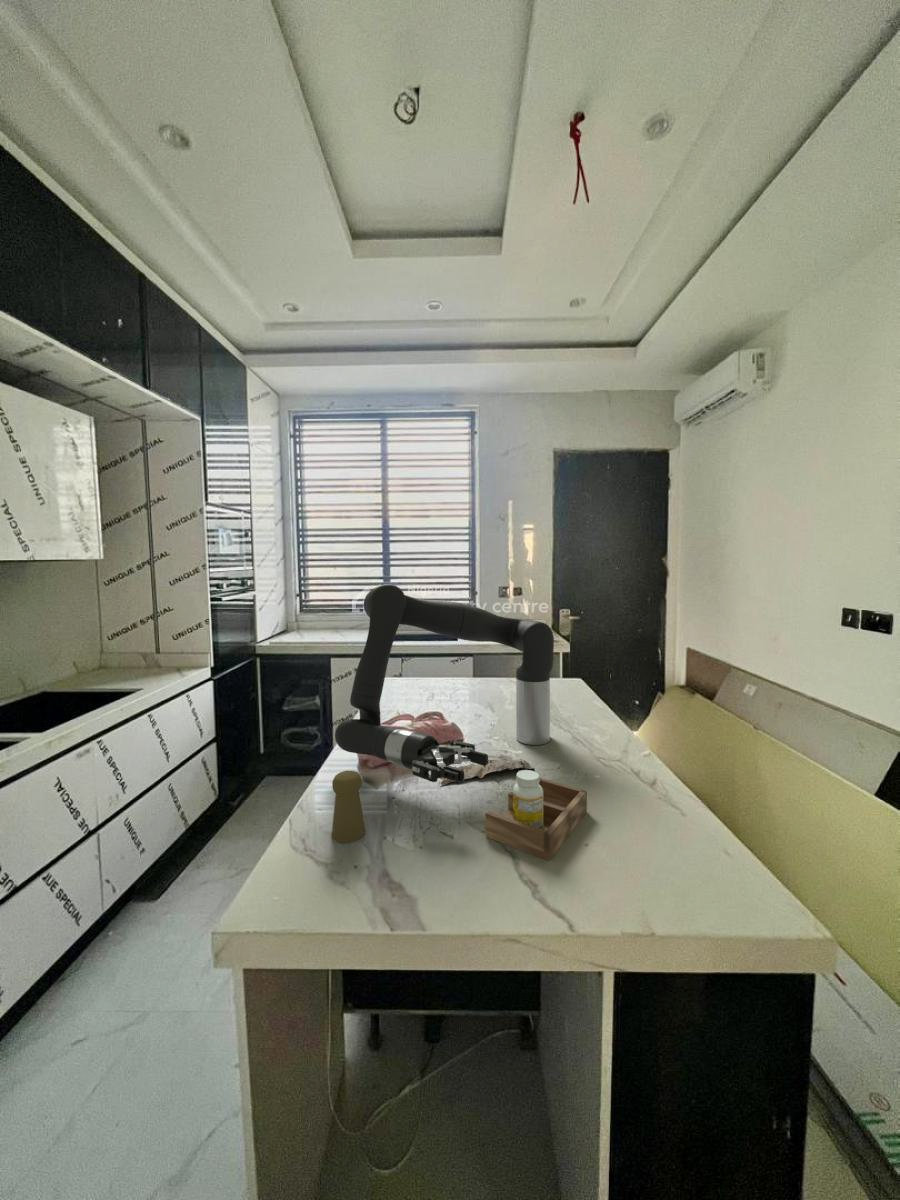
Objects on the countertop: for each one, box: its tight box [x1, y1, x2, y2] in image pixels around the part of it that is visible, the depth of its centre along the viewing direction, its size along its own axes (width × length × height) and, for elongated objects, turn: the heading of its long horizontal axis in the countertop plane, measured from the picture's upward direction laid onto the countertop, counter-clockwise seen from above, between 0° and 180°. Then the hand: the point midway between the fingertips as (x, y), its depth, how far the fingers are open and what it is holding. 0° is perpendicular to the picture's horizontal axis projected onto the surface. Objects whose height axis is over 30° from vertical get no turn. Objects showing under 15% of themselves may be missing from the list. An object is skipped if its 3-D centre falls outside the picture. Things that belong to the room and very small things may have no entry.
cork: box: [331, 770, 367, 844], centre depth 80 cm, size 6×6×11 cm
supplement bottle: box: [512, 769, 543, 830], centre depth 79 cm, size 5×5×10 cm
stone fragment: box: [439, 757, 536, 787], centre depth 104 cm, size 25×3×10 cm
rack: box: [484, 777, 588, 862], centre depth 83 cm, size 18×12×4 cm, turn 144°
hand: (475, 768), depth 85 cm, fingers open, 8 cm apart
